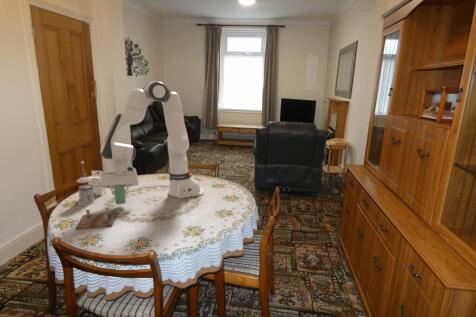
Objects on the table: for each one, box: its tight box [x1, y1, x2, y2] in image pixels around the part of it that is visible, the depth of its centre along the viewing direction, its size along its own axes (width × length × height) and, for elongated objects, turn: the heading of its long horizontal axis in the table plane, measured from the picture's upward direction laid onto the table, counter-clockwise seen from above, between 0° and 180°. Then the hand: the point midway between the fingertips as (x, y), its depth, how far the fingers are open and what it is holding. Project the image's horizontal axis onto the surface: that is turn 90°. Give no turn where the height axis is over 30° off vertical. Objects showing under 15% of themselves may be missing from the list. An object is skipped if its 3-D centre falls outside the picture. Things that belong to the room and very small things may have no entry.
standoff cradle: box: [75, 207, 117, 231], centre depth 146 cm, size 16×14×5 cm
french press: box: [76, 160, 97, 207], centre depth 165 cm, size 10×12×25 cm
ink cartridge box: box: [87, 170, 107, 197], centre depth 179 cm, size 9×5×15 cm, turn 84°
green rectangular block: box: [113, 185, 127, 205], centre depth 162 cm, size 5×3×10 cm, turn 104°
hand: (119, 193), depth 161 cm, fingers closed on green rectangular block, 5 cm apart
